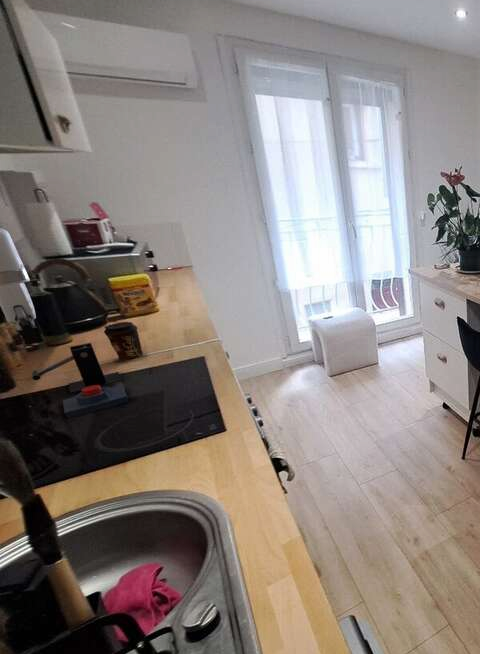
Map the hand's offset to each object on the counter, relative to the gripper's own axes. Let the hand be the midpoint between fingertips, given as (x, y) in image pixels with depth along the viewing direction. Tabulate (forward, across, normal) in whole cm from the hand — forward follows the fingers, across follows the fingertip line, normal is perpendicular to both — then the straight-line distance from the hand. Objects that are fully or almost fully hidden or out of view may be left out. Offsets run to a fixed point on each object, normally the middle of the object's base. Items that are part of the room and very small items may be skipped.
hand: (34, 338), depth 111 cm
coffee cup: (+19, -22, +18) cm, 34 cm away
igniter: (+19, +13, +6) cm, 23 cm away
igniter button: (+15, +13, +6) cm, 21 cm away
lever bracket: (+19, -4, +7) cm, 20 cm away
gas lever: (+10, -4, +3) cm, 12 cm away
